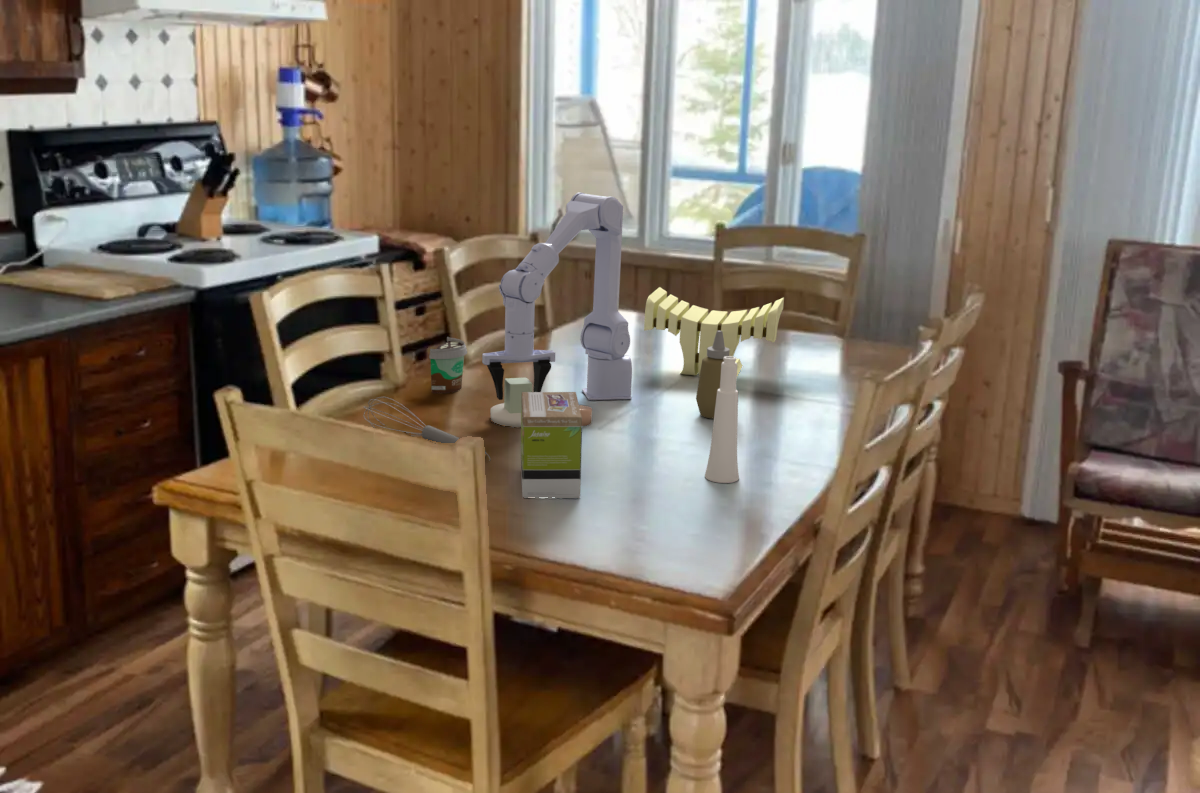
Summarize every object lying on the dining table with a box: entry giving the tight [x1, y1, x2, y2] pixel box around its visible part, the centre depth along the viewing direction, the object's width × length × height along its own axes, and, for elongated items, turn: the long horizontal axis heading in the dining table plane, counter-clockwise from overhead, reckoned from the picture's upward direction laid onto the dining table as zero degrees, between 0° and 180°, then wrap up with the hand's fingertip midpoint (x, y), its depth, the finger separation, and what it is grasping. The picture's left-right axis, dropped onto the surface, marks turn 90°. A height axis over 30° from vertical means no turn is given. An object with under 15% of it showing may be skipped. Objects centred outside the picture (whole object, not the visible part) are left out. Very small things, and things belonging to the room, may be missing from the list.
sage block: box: [503, 377, 533, 413], centre depth 242 cm, size 4×4×6 cm
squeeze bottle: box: [695, 331, 730, 420], centre depth 249 cm, size 8×8×18 cm
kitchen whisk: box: [363, 396, 492, 462], centre depth 227 cm, size 6×34×6 cm, turn 50°
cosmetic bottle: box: [704, 356, 740, 484], centre depth 211 cm, size 6×6×22 cm
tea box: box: [520, 391, 583, 499], centre depth 206 cm, size 15×10×15 cm, turn 5°
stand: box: [490, 402, 521, 428], centre depth 243 cm, size 11×11×2 cm
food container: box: [428, 336, 468, 394], centre depth 262 cm, size 12×6×10 cm, turn 168°
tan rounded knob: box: [579, 404, 593, 427], centre depth 243 cm, size 5×5×3 cm
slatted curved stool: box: [643, 286, 785, 377], centre depth 284 cm, size 30×16×18 cm, turn 76°
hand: (518, 397), depth 242 cm, fingers open, 7 cm apart
